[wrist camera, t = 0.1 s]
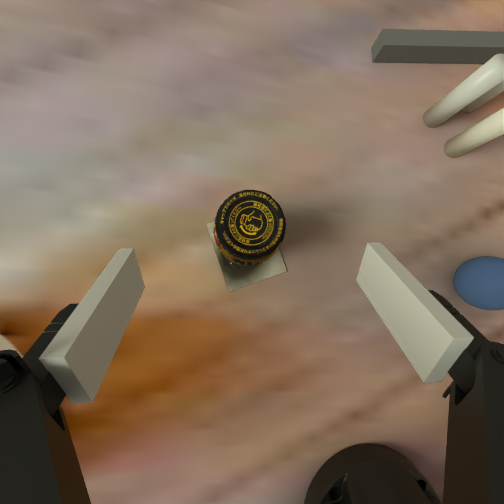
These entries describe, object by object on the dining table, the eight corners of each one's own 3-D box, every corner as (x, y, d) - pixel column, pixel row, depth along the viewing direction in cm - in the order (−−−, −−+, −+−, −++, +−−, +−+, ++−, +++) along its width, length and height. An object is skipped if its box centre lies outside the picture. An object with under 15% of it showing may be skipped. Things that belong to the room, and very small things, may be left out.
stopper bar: (517, 64, 33) (540, 48, 31) (372, 62, 32) (383, 45, 30) (516, 50, 33) (538, 32, 31) (371, 47, 32) (382, 29, 30)
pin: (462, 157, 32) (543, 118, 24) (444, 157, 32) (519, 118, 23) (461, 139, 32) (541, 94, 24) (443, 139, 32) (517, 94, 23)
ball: (488, 304, 31) (548, 313, 25) (442, 306, 31) (492, 316, 25) (484, 256, 31) (542, 254, 25) (438, 258, 31) (487, 256, 25)
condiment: (263, 205, 30) (280, 165, 18) (286, 271, 30) (319, 274, 18) (206, 224, 30) (184, 196, 18) (229, 291, 29) (223, 309, 17)
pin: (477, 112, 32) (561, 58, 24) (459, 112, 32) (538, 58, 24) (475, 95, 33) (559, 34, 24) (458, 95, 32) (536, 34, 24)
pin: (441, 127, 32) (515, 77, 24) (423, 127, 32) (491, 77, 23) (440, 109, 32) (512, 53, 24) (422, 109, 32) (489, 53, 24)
